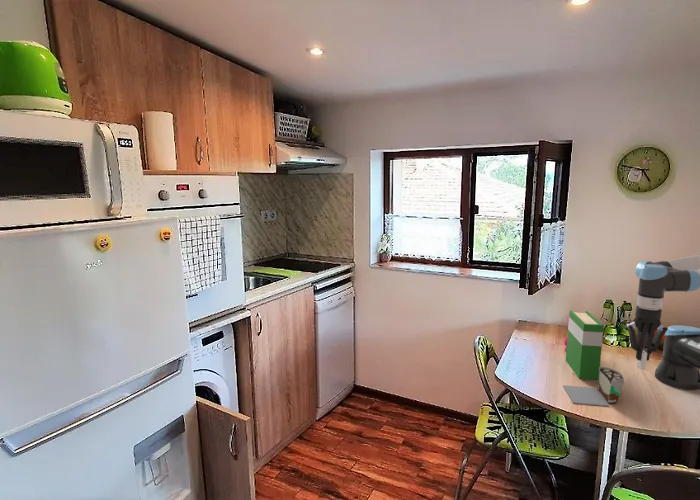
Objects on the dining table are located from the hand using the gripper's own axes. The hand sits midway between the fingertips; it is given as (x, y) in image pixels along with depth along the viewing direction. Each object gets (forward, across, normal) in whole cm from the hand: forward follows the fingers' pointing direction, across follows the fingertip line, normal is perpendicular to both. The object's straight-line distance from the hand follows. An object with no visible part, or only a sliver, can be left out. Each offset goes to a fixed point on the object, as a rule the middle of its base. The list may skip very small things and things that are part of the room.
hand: (641, 367), depth 152 cm
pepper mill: (+13, -10, +42) cm, 45 cm away
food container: (+13, -8, 0) cm, 16 cm away
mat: (+13, -18, 0) cm, 22 cm away
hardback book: (+13, -12, +23) cm, 29 cm away
